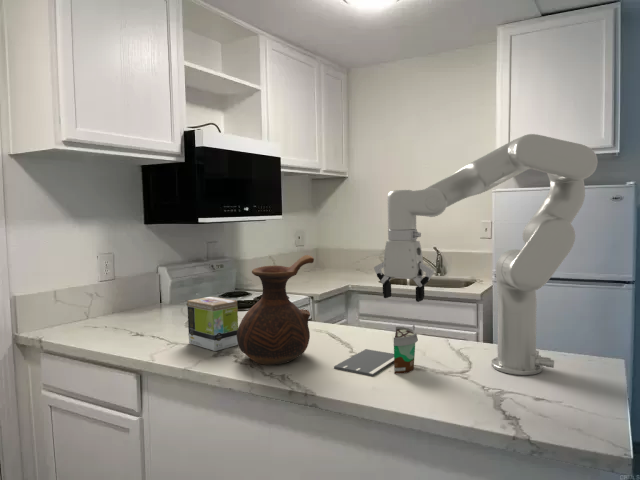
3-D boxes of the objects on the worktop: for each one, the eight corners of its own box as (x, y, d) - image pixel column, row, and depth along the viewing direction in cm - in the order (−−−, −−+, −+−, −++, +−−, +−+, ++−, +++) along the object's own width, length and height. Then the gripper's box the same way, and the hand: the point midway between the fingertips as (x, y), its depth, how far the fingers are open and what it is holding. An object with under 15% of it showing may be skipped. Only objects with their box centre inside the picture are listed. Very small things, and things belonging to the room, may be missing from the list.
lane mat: (402, 357, 141) (402, 354, 141) (372, 376, 126) (372, 373, 126) (365, 350, 147) (365, 348, 147) (334, 368, 133) (334, 366, 133)
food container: (418, 376, 125) (417, 338, 124) (394, 375, 126) (393, 338, 125) (418, 361, 137) (417, 326, 136) (396, 360, 138) (395, 326, 137)
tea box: (240, 344, 158) (238, 300, 157) (214, 352, 150) (212, 305, 149) (213, 337, 168) (211, 295, 167) (187, 343, 161) (185, 299, 159)
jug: (285, 375, 128) (281, 263, 126) (222, 364, 139) (218, 260, 137) (324, 352, 147) (322, 254, 145) (266, 343, 158) (263, 252, 156)
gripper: (438, 235, 128) (439, 299, 129) (381, 234, 138) (382, 293, 139) (426, 237, 122) (426, 304, 123) (367, 236, 132) (368, 298, 133)
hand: (403, 299), depth 131 cm, fingers open, 9 cm apart
